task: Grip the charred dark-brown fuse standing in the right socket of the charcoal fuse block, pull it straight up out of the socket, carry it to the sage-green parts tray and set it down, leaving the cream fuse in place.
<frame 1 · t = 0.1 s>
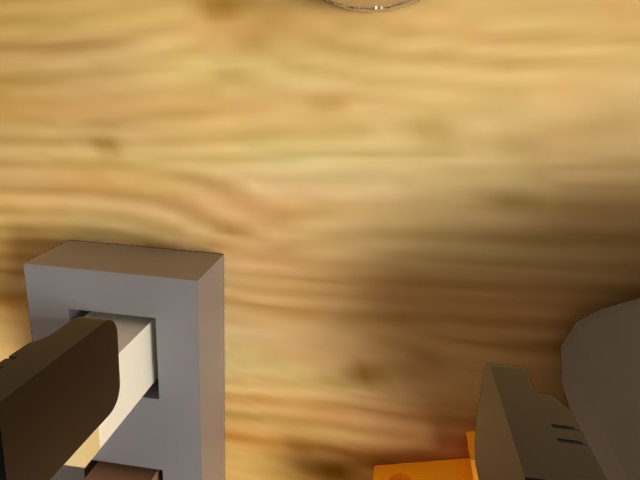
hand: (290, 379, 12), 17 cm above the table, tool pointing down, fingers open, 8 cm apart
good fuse: (132, 336, 30), point 2 cm above the table, touching fuse block
fuse block: (152, 389, 33), on the table
pipe clamp: (478, 461, 32), on the table, touching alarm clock
blown fuse: (141, 473, 33), point 2 cm above the table, touching fuse block
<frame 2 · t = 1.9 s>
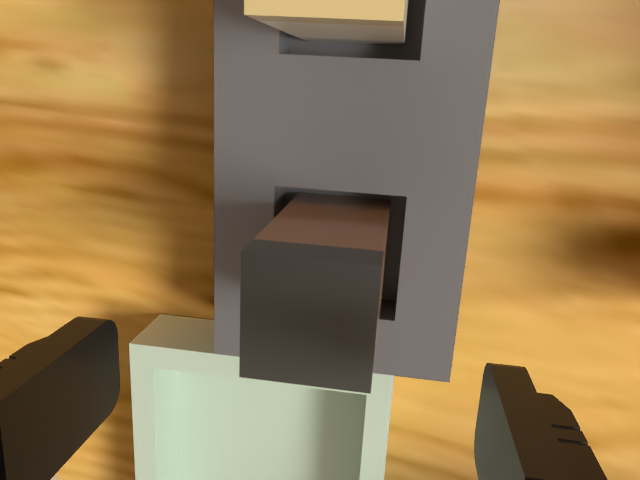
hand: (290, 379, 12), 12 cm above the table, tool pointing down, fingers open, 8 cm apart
fuse block: (354, 119, 22), on the table
parts tray: (271, 439, 27), on the table
blown fuse: (341, 239, 22), point 2 cm above the table, touching fuse block
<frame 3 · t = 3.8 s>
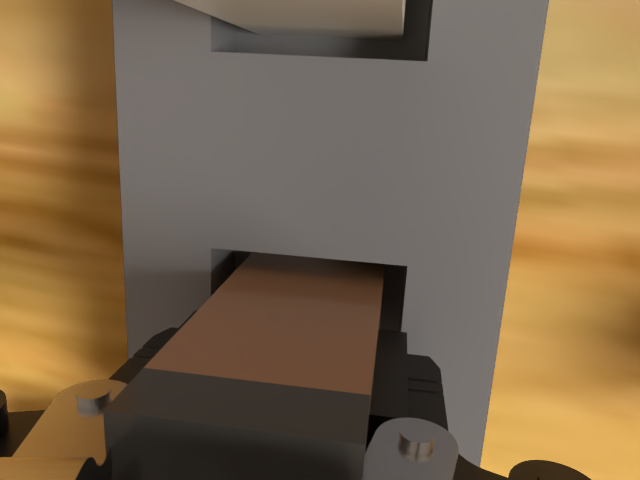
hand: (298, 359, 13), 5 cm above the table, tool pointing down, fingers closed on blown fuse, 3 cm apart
fuse block: (333, 145, 16), on the table
blown fuse: (316, 314, 15), point 2 cm above the table, touching gripper
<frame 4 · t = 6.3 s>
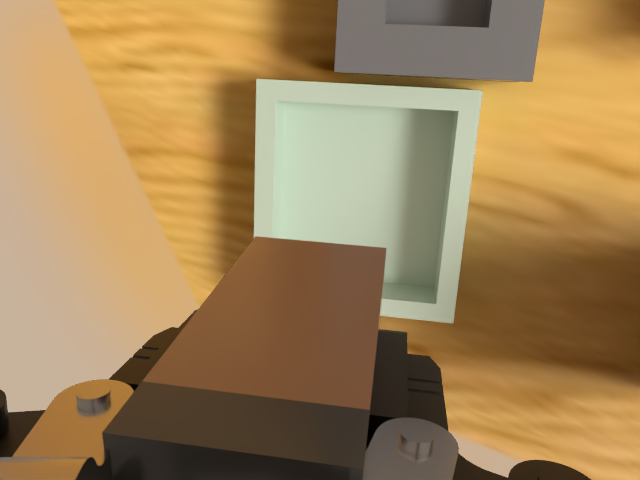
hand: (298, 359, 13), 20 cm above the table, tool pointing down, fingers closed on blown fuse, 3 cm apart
parts tray: (362, 193, 32), on the table
blown fuse: (317, 301, 15), point 17 cm above the table, touching gripper
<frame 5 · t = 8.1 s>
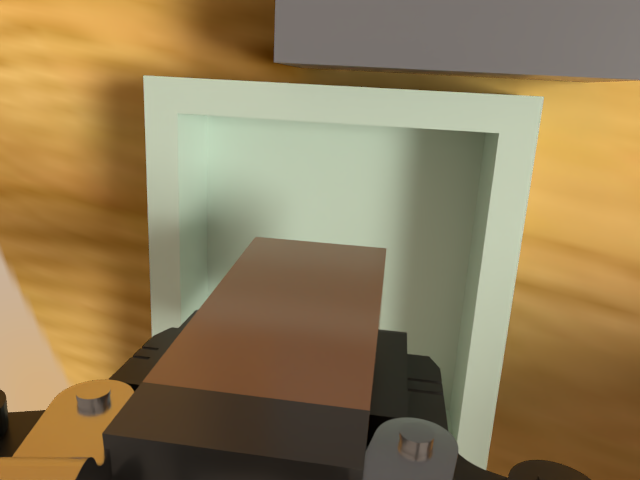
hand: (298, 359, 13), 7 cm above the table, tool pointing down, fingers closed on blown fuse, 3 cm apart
parts tray: (335, 261, 20), on the table
blown fuse: (317, 302, 15), point 5 cm above the table, touching gripper
when the fingers open (5 cm above the table, at t = 9.2 s): blown fuse drops 2 cm, resting on parts tray.
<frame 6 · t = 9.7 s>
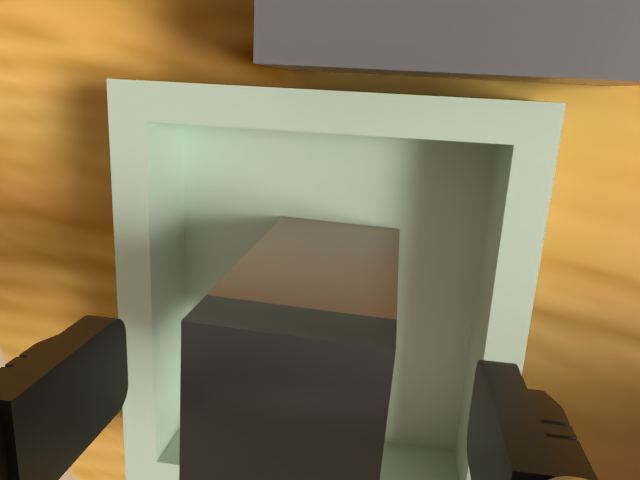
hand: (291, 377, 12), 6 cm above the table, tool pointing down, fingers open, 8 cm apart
parts tray: (327, 284, 18), on the table
blown fuse: (335, 277, 17), point 1 cm above the table, touching parts tray
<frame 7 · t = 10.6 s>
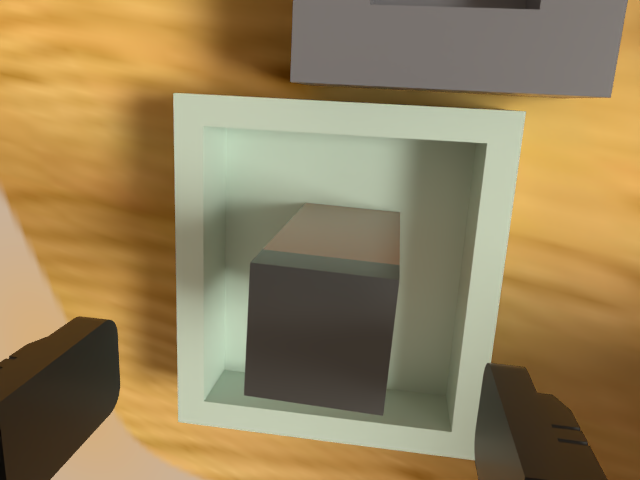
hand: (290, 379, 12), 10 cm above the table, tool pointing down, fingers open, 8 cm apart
parts tray: (341, 259, 22), on the table
blown fuse: (348, 252, 21), point 1 cm above the table, touching parts tray
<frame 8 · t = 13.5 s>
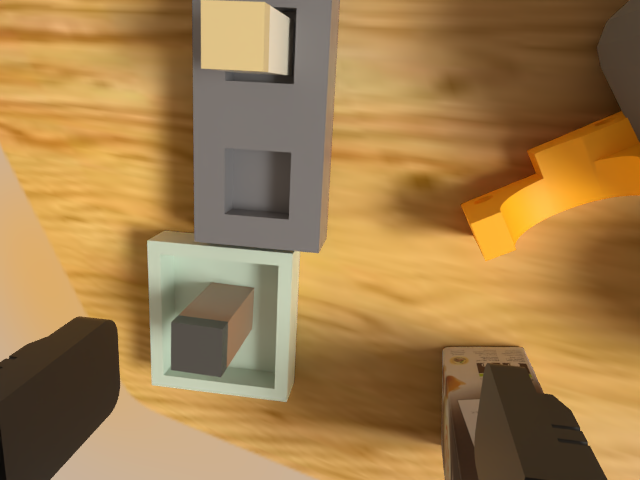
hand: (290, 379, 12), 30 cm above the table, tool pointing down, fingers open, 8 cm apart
coffee box: (480, 397, 44), on the table
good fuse: (267, 47, 37), point 2 cm above the table, touching fuse block
fuse block: (272, 114, 41), on the table
pipe clamp: (543, 175, 39), on the table
parts tray: (230, 307, 45), on the table
blown fuse: (232, 305, 44), point 1 cm above the table, touching parts tray
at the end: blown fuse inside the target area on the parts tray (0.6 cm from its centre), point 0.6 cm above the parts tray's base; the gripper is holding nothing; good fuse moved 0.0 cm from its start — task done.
